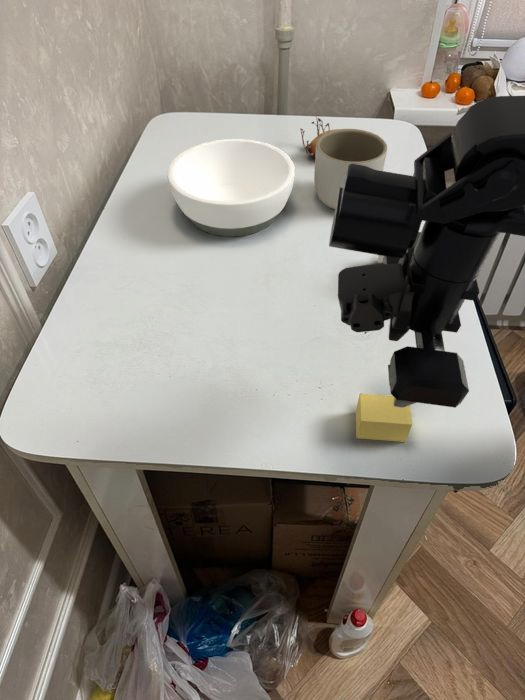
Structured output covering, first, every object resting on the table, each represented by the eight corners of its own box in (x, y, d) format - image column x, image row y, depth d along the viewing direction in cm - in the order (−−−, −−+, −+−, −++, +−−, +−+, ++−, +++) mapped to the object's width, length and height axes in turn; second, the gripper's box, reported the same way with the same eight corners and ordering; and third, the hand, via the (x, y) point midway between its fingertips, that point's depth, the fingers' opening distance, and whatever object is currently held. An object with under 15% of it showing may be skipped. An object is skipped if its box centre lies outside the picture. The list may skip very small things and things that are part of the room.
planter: (356, 176, 102) (363, 123, 93) (389, 208, 94) (401, 153, 86) (301, 190, 98) (304, 136, 90) (331, 224, 91) (337, 169, 83)
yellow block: (402, 415, 64) (409, 396, 61) (405, 442, 61) (412, 424, 58) (355, 411, 64) (359, 393, 61) (356, 438, 62) (360, 420, 59)
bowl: (220, 167, 105) (216, 127, 98) (314, 198, 97) (317, 157, 90) (148, 221, 92) (140, 179, 86) (250, 262, 84) (249, 219, 78)
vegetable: (370, 122, 111) (380, 90, 101) (379, 167, 108) (390, 138, 98) (299, 131, 110) (302, 99, 100) (306, 176, 108) (310, 148, 98)
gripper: (352, 188, 49) (324, 302, 61) (354, 327, 37) (319, 434, 49) (465, 203, 49) (415, 314, 61) (504, 346, 37) (433, 450, 49)
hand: (395, 370), depth 55 cm, fingers open, 9 cm apart
